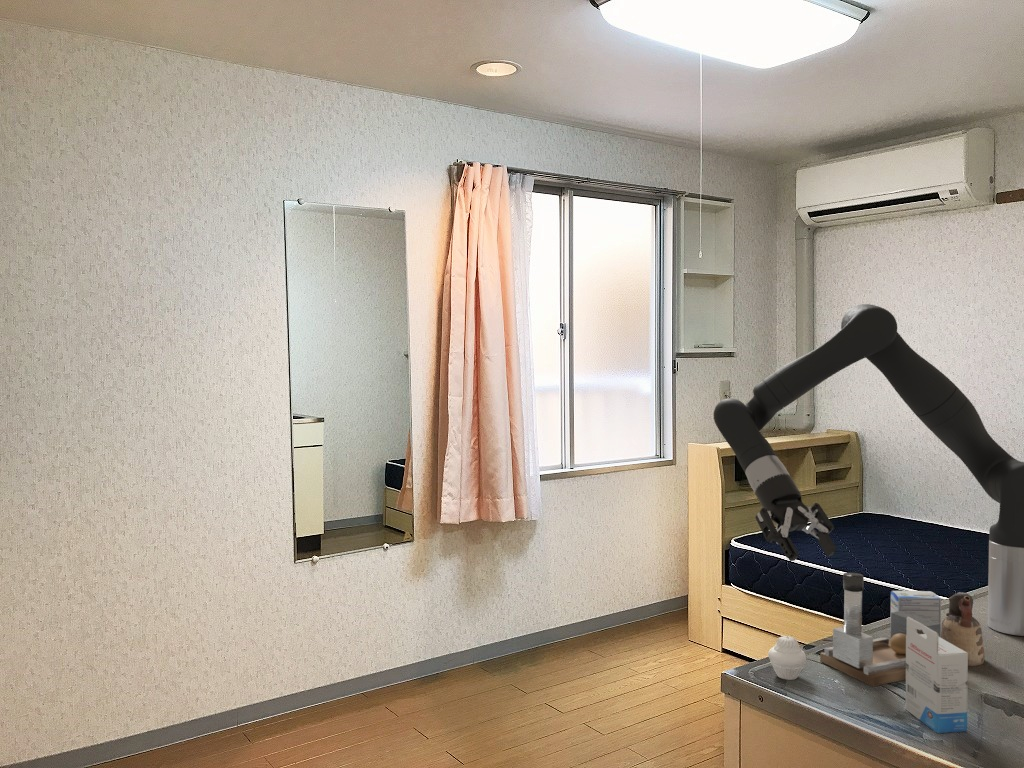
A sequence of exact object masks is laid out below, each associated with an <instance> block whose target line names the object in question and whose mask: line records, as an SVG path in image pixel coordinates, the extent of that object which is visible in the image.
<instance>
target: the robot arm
mask: <svg viewBox="0 0 1024 768" xmlns="http://www.w3.org/2000/svg"><path fill="white" fill-rule="evenodd" d="M841 319H842V320H841V323H840V330H838V332H837V333H836V334H834V335H833V336H832V337H831V338H830V339H828V340H827V341H825V342H824V343H823V344H820V345H819V346H818V347H817V348H815V349H813V350H811V351H810V352H807V353H805V354H804V355H802V356H800V357H798V358H796V359H794V360H792V361H790V362H788V363H787V364H784V365H783V366H781V367H780V368H778V369H777V370H775V371H774V372H772V373H771V374H769V375H768V376H766V377H765V378H764V379H763V380H761V381H760V382H758V383H757V384H756V385H754V387H753V390H752V393H753V397H751V399H750V400H749V401H748V402H747V403H746V404H745V403H744V402H743V401H741V400H739V399H737V398H731V397H729V398H728V397H727V398H724V399H722V400H720V401H719V402H718V403H717V404H716V406H715V407H714V410H713V420H714V424H715V426H716V427H717V429H718V431H719V432H720V434H721V435H722V437H723V438H724V440H725V441H726V443H727V444H728V445H729V447H730V448H731V450H732V451H733V453H734V454H735V455H734V456H735V457H736V458H737V461H738V463H739V465H740V466H741V468H742V470H743V472H744V473H745V476H746V478H747V481H748V484H749V485H750V488H751V489H752V491H753V493H754V495H755V496H756V498H757V500H758V502H759V504H760V505H761V507H762V508H761V509H760V510H759V511H758V512H757V514H756V515H755V520H756V522H757V524H758V526H759V528H760V530H761V532H762V535H763V536H764V538H765V540H766V542H768V543H773V542H774V543H776V544H777V545H779V547H780V549H781V550H782V551H781V552H783V554H784V556H785V557H786V558H787V559H788V560H789V561H790V562H794V561H796V560H797V559H798V558H799V557H800V553H799V551H798V550H797V548H796V547H795V545H794V543H793V541H792V539H791V538H790V537H789V532H793V531H803V532H804V533H805V534H810V535H811V536H813V537H815V538H816V540H817V542H818V543H819V546H820V547H821V549H822V550H823V552H824V554H825V556H827V557H832V556H833V555H834V554H835V553H836V552H837V547H836V545H835V543H834V542H833V540H832V538H831V537H830V535H829V534H831V532H832V531H833V530H834V529H835V525H834V524H833V523H832V521H831V520H830V519H829V517H828V515H827V513H826V512H825V511H824V509H823V508H822V506H821V505H820V504H819V503H817V502H815V503H814V504H812V505H810V506H807V505H806V504H805V503H804V502H803V501H802V493H801V491H800V489H799V488H798V486H797V484H796V483H795V482H794V479H793V478H792V477H791V474H790V473H789V471H788V470H787V467H786V466H785V464H783V462H782V461H781V460H780V458H779V456H777V454H776V452H775V451H774V449H773V447H772V445H771V444H770V442H769V441H768V439H766V438H765V436H764V435H763V434H762V433H761V430H763V428H764V427H765V426H766V425H767V424H768V423H769V422H770V421H771V420H772V419H773V418H774V417H775V415H776V414H777V413H778V412H780V411H781V410H783V409H784V408H786V407H787V406H789V405H791V404H792V403H793V402H795V401H797V400H798V399H800V397H801V398H802V396H804V395H805V394H807V393H808V392H809V391H812V390H813V389H814V388H816V387H817V386H818V385H820V384H821V383H823V382H824V381H826V380H827V379H829V378H830V377H832V376H833V375H835V374H837V373H839V372H840V371H842V370H844V369H846V368H848V367H849V366H851V365H853V364H855V363H857V362H859V361H861V360H863V359H866V360H867V361H869V362H870V363H871V364H872V365H873V366H875V368H877V370H878V371H880V372H881V374H882V375H883V376H884V377H885V378H886V380H887V381H888V383H889V384H890V385H891V386H892V388H893V389H894V390H895V392H896V393H897V394H898V396H899V397H900V398H901V399H902V401H903V402H904V403H905V404H906V405H907V407H908V408H909V409H910V410H911V411H912V412H913V414H914V415H915V416H916V417H917V418H918V419H919V420H920V421H921V422H922V424H924V426H926V427H927V428H928V429H929V430H930V432H932V433H933V435H934V436H936V438H938V440H940V442H941V443H943V444H944V446H945V447H947V448H948V449H949V450H950V451H952V453H954V454H955V456H957V457H958V459H960V461H962V463H963V464H964V466H966V467H967V469H968V470H969V472H970V473H971V474H972V476H973V477H974V478H975V480H976V481H977V482H978V484H979V485H980V486H981V488H982V489H983V491H985V493H986V494H987V495H988V497H990V498H991V499H992V500H993V501H995V502H997V503H998V504H999V511H998V513H999V514H998V520H997V522H995V523H994V524H992V525H990V527H989V531H988V533H989V535H988V576H987V577H988V580H987V581H988V582H987V583H988V584H987V585H988V586H987V587H988V589H987V590H988V591H987V598H988V599H987V626H988V627H989V628H990V629H993V631H996V632H999V633H1003V634H1007V635H1013V636H1019V637H1020V636H1021V637H1024V462H1023V461H1020V460H1017V459H1016V458H1014V456H1012V455H1011V454H1010V453H1009V452H1007V451H1006V450H1005V449H1003V447H1002V446H1001V445H999V444H998V442H996V441H995V439H994V438H992V436H991V435H990V434H989V433H988V431H987V429H986V426H985V425H984V423H983V421H982V419H981V416H980V414H979V413H978V410H977V408H976V407H975V406H974V404H973V403H972V401H970V400H969V398H968V397H967V396H966V395H965V394H964V393H963V391H961V389H960V388H959V387H958V386H957V385H956V384H955V383H954V382H953V381H952V380H951V379H950V378H949V377H948V376H946V375H945V374H944V373H943V372H942V371H940V370H939V369H938V368H937V367H935V366H934V365H933V364H932V363H930V362H929V361H928V360H927V359H925V358H924V357H923V356H921V355H920V354H919V353H918V352H916V351H915V350H914V349H913V348H912V347H911V346H910V345H909V344H908V343H907V342H906V340H905V339H903V337H902V336H901V334H900V333H899V332H898V323H897V320H896V318H895V316H894V314H892V313H891V312H890V311H889V310H887V309H886V308H885V307H884V308H883V307H881V306H878V305H875V304H869V303H868V304H867V303H866V304H864V303H863V304H858V305H855V306H853V307H851V308H850V309H848V310H846V312H845V313H844V315H843V317H842V318H841ZM809 522H810V524H809V525H808V523H809ZM774 523H775V524H776V526H775V524H774ZM816 529H817V530H816Z"/></svg>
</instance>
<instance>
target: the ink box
mask: <svg viewBox="0 0 1024 768" xmlns="http://www.w3.org/2000/svg"><path fill="white" fill-rule="evenodd" d="M917 629H918V630H922V631H923V633H925V634H918V633H917ZM968 668H969V667H968V653H967V652H965V651H963V650H962V649H960V648H958V647H956V646H954V645H953V644H951V643H949V642H947V641H946V640H944V639H942V638H940V637H939V636H938V633H937V632H935V631H933V630H931V629H930V628H928V627H926V626H925V625H923V624H921V623H920V622H918V621H916V620H914V619H912V618H910V617H907V635H906V680H905V710H906V711H908V713H910V714H911V715H913V717H915V718H917V719H918V720H919V721H920V722H921V723H923V724H924V725H925V726H927V727H928V728H929V729H931V730H932V731H934V732H935V733H937V734H942V733H943V734H944V733H945V734H946V733H958V732H959V733H960V732H967V730H968V686H969V685H968V678H969V677H968V676H969V673H968V671H969V670H968Z"/></svg>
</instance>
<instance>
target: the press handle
mask: <svg viewBox="0 0 1024 768" xmlns="http://www.w3.org/2000/svg"><path fill="white" fill-rule="evenodd" d="M842 576H843V577H842V578H843V579H842V586H843V587H842V589H843V590H844V592H843V593H844V594H843V596H844V597H843V598H844V599H843V600H844V601H843V602H844V603H843V612H844V613H843V626H840V627H833V628H832V647H833V657H835V658H837V659H839V660H842V661H844V662H846V663H848V664H850V665H852V666H854V667H857V668H859V669H860V668H864V666H867V665H872V664H873V639H874V636H872V635H870V634H866V633H864V632H862V631H863V630H862V629H863V628H862V626H863V623H862V622H863V616H862V615H863V614H862V613H863V612H862V611H863V591H864V575H863V574H861V573H858V572H844V573H843V574H842Z"/></svg>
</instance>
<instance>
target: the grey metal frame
mask: <svg viewBox="0 0 1024 768" xmlns="http://www.w3.org/2000/svg"><path fill="white" fill-rule="evenodd" d="M907 617H910V618H912V619H914V620H916V621H918V622H920V623H921V624H923V625H925V626H926V627H928V628H930V629H931V630H933V631H935V632H937V633H938V636H939V637H940V629H941V627H942V623H941V624H940V623H937V622H934V621H931V620H928V619H926V618H923V617H920V616H917V615H914V614H912V613H909V612H906V611H898V612H892V613H891V612H890V618H891V633H890V639H891V638H892V636H893V635H895V634H898V633H902V634H905V635H907ZM917 633H918V634H925V633H923V631H922V630H918V629H917ZM890 639H889V638H888V637H885V636H884V637H878V638H873V648H877V647H883V646H888V645H889V640H890ZM824 652H825V655H826V656H828V657H830V656H833V646H830V647H825V648H824ZM901 668H906V658H902V659H897V660H892V661H887V662H882V663H877V664H872V665H867V666H864V674H866V675H872V674H877V673H882V672H887V671H892V670H897V669H901Z"/></svg>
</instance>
